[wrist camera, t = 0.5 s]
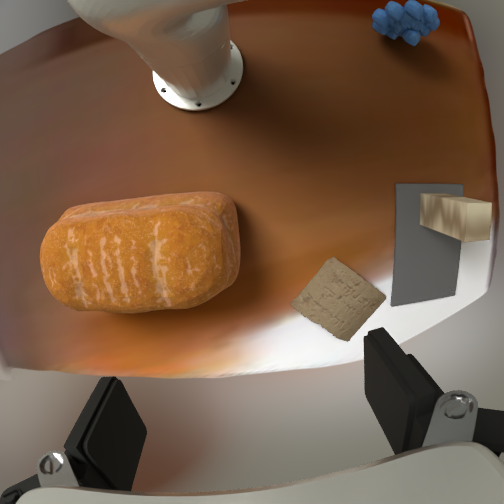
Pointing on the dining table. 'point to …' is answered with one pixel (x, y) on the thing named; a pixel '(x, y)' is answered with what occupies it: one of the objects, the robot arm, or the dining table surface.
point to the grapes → (405, 21)
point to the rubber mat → (422, 249)
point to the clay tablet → (338, 299)
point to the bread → (143, 253)
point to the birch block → (456, 216)
